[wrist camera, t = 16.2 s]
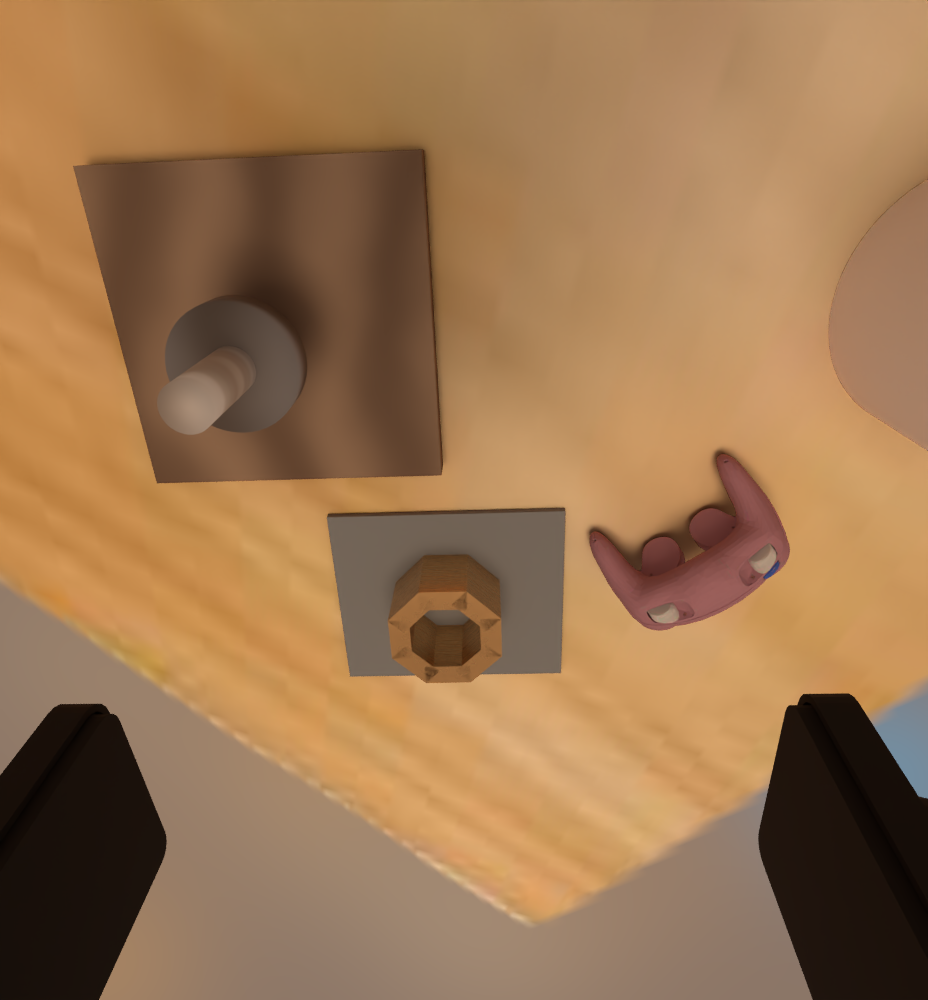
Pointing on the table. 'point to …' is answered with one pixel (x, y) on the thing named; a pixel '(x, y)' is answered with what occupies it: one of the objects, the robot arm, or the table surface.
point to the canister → (887, 319)
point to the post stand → (274, 312)
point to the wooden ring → (446, 646)
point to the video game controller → (701, 559)
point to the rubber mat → (479, 533)
